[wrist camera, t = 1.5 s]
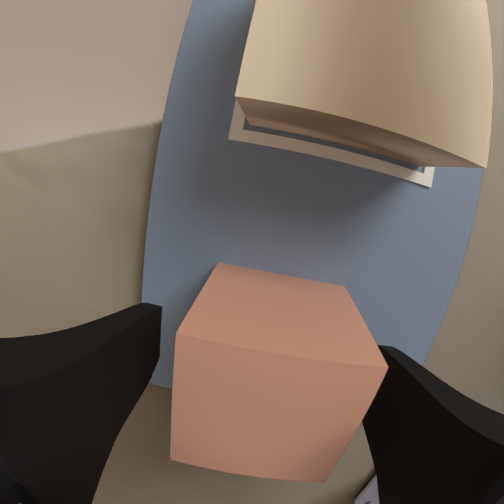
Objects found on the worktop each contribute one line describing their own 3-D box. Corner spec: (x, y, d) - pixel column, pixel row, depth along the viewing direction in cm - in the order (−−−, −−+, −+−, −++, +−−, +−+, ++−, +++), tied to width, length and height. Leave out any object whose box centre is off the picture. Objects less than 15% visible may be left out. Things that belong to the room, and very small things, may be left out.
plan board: (476, 44, 8) (488, 38, 7) (388, 406, 13) (393, 420, 12) (211, -27, 9) (206, -40, 8) (148, 368, 13) (140, 382, 12)
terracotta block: (344, 286, 11) (388, 367, 6) (311, 385, 12) (324, 482, 7) (218, 262, 11) (176, 332, 6) (203, 366, 12) (170, 459, 7)
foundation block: (431, 26, 8) (482, -16, 4) (419, 166, 9) (486, 168, 6) (279, -17, 8) (279, -85, 4) (250, 125, 10) (234, 95, 6)
